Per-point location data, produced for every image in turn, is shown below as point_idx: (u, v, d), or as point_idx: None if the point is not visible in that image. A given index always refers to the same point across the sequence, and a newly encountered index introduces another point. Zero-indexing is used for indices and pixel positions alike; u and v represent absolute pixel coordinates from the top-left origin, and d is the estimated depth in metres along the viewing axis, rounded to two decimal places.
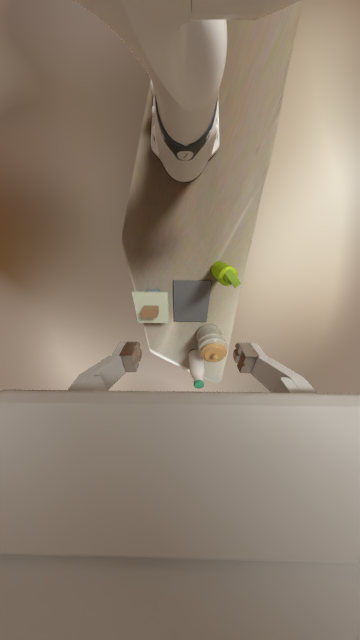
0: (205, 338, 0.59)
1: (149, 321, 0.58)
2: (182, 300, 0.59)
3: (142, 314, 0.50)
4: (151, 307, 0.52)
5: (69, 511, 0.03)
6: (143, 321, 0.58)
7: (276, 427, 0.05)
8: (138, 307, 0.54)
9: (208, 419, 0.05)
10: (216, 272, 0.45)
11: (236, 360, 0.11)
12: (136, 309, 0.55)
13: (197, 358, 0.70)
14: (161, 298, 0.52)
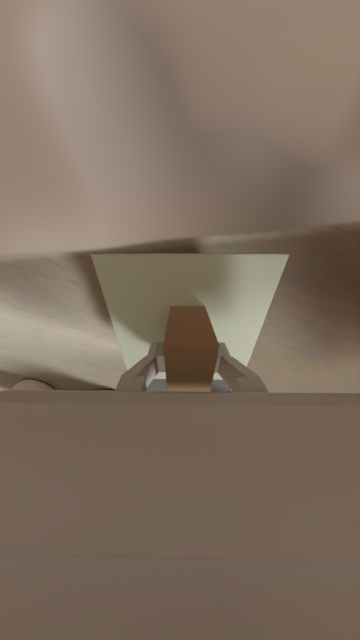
0: None
1: (119, 319, 0.12)
2: None
3: (189, 352, 0.07)
4: None
5: (69, 511, 0.03)
6: (110, 291, 0.11)
7: (276, 427, 0.05)
8: (195, 277, 0.10)
9: (208, 419, 0.05)
10: None
11: None
12: (183, 263, 0.10)
13: None
14: None
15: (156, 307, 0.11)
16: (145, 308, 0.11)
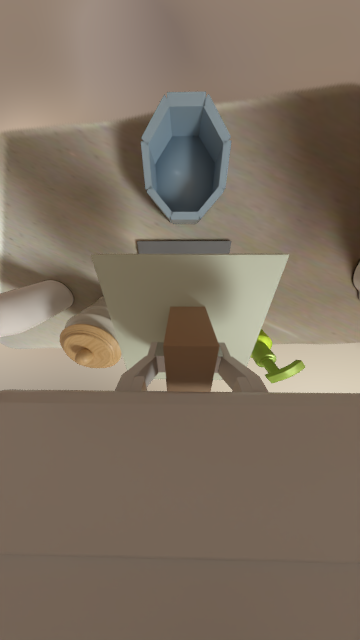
0: None
1: (119, 320, 0.12)
2: None
3: (189, 352, 0.07)
4: None
5: (69, 511, 0.03)
6: (110, 292, 0.11)
7: (276, 427, 0.05)
8: (195, 277, 0.10)
9: (208, 419, 0.05)
10: None
11: None
12: (183, 263, 0.10)
13: (51, 306, 0.29)
14: None
15: (156, 307, 0.11)
16: (145, 308, 0.11)
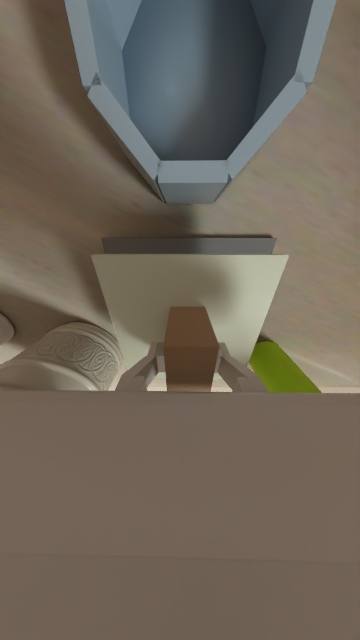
0: (68, 389, 0.15)
1: (119, 320, 0.12)
2: None
3: (189, 352, 0.07)
4: None
5: (69, 511, 0.03)
6: (110, 292, 0.11)
7: (276, 427, 0.05)
8: (195, 278, 0.10)
9: (208, 419, 0.05)
10: (314, 391, 0.15)
11: None
12: (183, 264, 0.10)
13: None
14: None
15: (156, 307, 0.11)
16: (145, 308, 0.11)
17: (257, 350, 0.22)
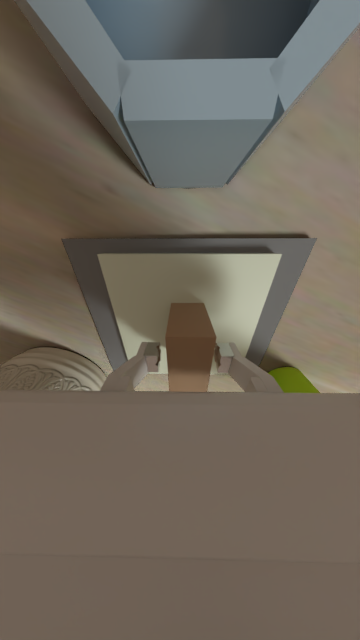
0: None
1: (122, 316, 0.13)
2: None
3: (189, 343, 0.08)
4: None
5: (69, 511, 0.03)
6: (115, 289, 0.11)
7: (276, 427, 0.05)
8: (194, 275, 0.11)
9: (208, 419, 0.05)
10: None
11: (215, 360, 0.11)
12: (183, 262, 0.10)
13: None
14: None
15: (158, 304, 0.12)
16: (147, 305, 0.12)
17: (275, 379, 0.18)
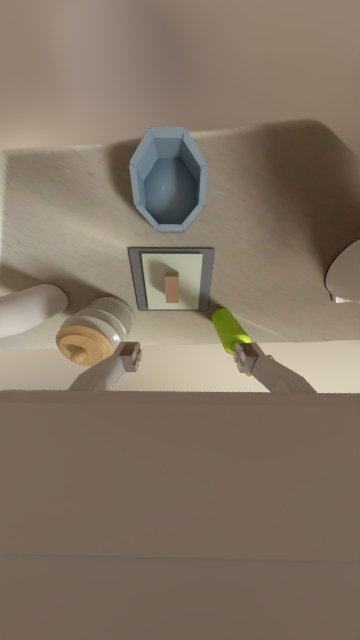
0: (113, 323, 0.29)
1: (147, 278, 0.33)
2: None
3: (171, 278, 0.28)
4: None
5: (69, 511, 0.03)
6: (146, 266, 0.31)
7: (276, 427, 0.05)
8: (174, 261, 0.31)
9: (208, 419, 0.05)
10: (235, 324, 0.31)
11: (236, 360, 0.11)
12: (170, 256, 0.30)
13: (47, 308, 0.31)
14: (190, 300, 0.36)
15: (161, 272, 0.32)
16: (157, 273, 0.32)
17: (216, 313, 0.38)
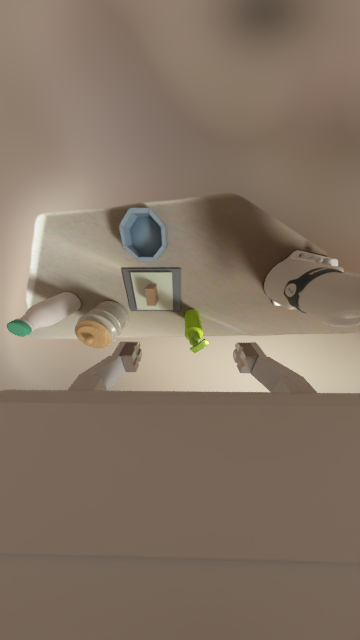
0: (111, 319, 0.44)
1: (135, 288, 0.47)
2: None
3: (149, 290, 0.42)
4: (156, 296, 0.46)
5: (69, 511, 0.03)
6: (133, 280, 0.45)
7: (276, 427, 0.05)
8: (153, 277, 0.45)
9: (208, 419, 0.05)
10: (195, 320, 0.45)
11: (236, 360, 0.11)
12: (150, 274, 0.44)
13: (68, 309, 0.46)
14: (166, 303, 0.50)
15: (144, 284, 0.46)
16: (142, 284, 0.46)
17: (186, 312, 0.52)
